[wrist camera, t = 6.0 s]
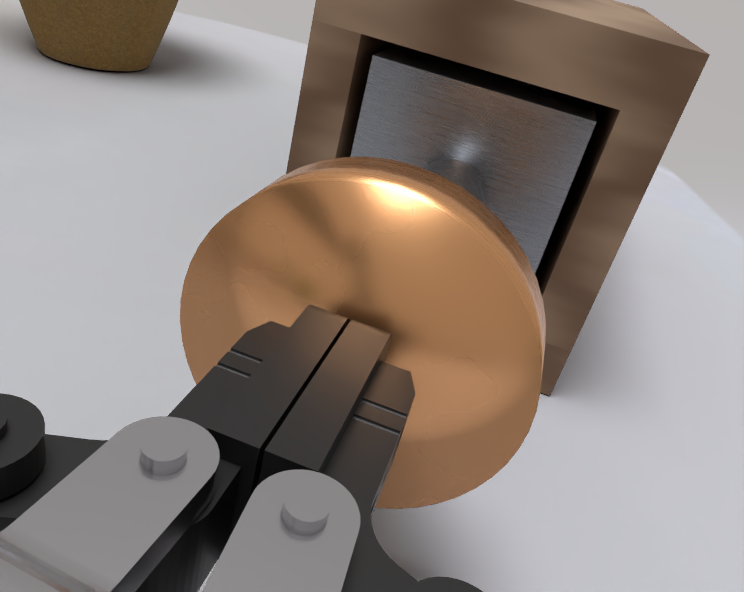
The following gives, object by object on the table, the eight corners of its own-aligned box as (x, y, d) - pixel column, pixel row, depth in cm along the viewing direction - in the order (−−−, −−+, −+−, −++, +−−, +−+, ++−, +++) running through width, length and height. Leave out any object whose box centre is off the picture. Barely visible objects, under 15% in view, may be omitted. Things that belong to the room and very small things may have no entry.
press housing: (265, 293, 25) (324, -52, 19) (409, 146, 46) (459, -42, 40) (550, 395, 24) (710, 54, 18) (565, 196, 44) (641, 8, 38)
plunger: (167, 433, 14) (197, 126, 11) (397, 177, 32) (436, 29, 29) (471, 556, 13) (608, 262, 10) (535, 222, 31) (592, 74, 28)
